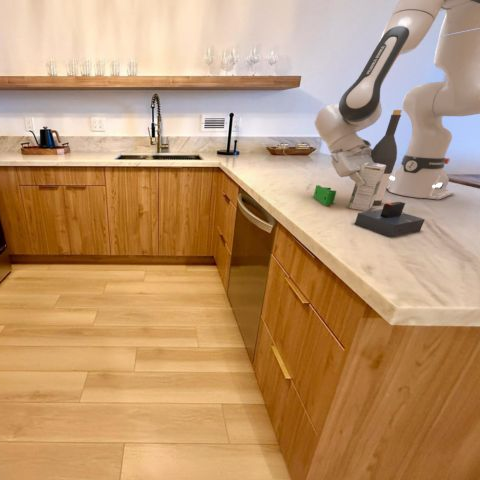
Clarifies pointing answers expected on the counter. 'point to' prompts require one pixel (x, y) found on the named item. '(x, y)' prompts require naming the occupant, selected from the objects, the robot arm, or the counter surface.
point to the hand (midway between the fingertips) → (369, 183)
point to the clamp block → (389, 223)
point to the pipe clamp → (324, 195)
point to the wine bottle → (386, 154)
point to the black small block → (392, 209)
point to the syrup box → (367, 186)
